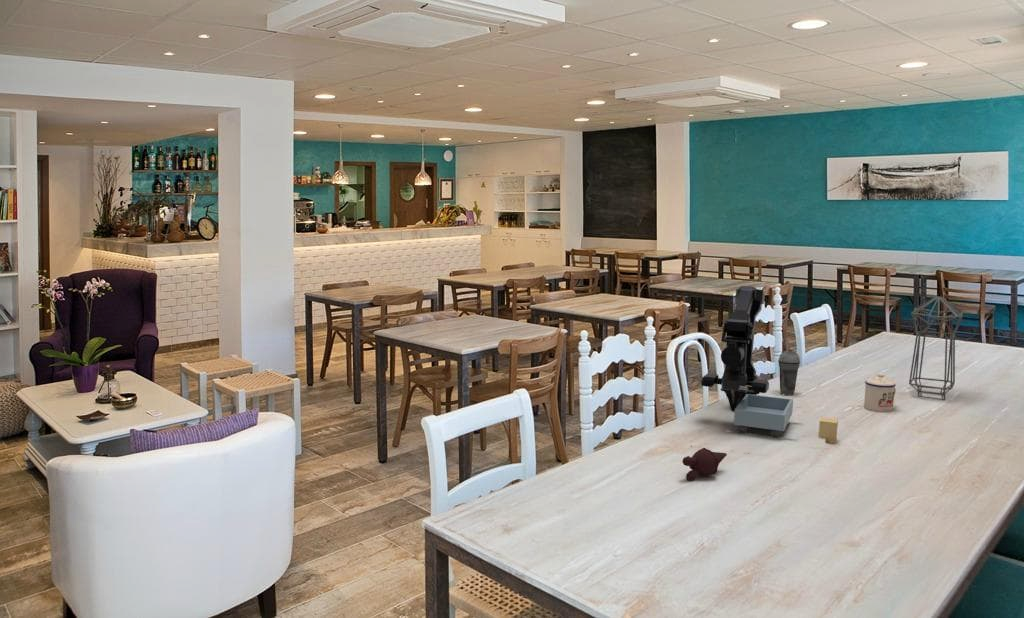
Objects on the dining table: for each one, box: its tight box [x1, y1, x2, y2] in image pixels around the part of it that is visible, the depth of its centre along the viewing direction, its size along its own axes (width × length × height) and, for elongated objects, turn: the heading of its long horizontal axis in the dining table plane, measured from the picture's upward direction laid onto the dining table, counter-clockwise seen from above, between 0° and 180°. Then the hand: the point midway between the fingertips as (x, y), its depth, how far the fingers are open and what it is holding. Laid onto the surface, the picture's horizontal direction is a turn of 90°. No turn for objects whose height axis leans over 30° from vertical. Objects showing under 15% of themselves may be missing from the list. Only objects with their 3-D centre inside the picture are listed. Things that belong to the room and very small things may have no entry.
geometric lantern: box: [908, 296, 964, 401], centre depth 273 cm, size 16×16×35 cm
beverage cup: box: [777, 337, 801, 396], centre depth 276 cm, size 7×7×20 cm
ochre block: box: [818, 416, 839, 444], centre depth 225 cm, size 4×4×6 cm
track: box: [724, 421, 806, 442], centre depth 233 cm, size 20×22×1 cm
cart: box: [733, 394, 794, 439], centre depth 232 cm, size 14×20×7 cm
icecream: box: [682, 447, 728, 481], centre depth 197 cm, size 7×7×15 cm
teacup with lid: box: [863, 372, 897, 413], centre depth 259 cm, size 12×9×12 cm
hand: (733, 411), depth 236 cm, fingers closed
